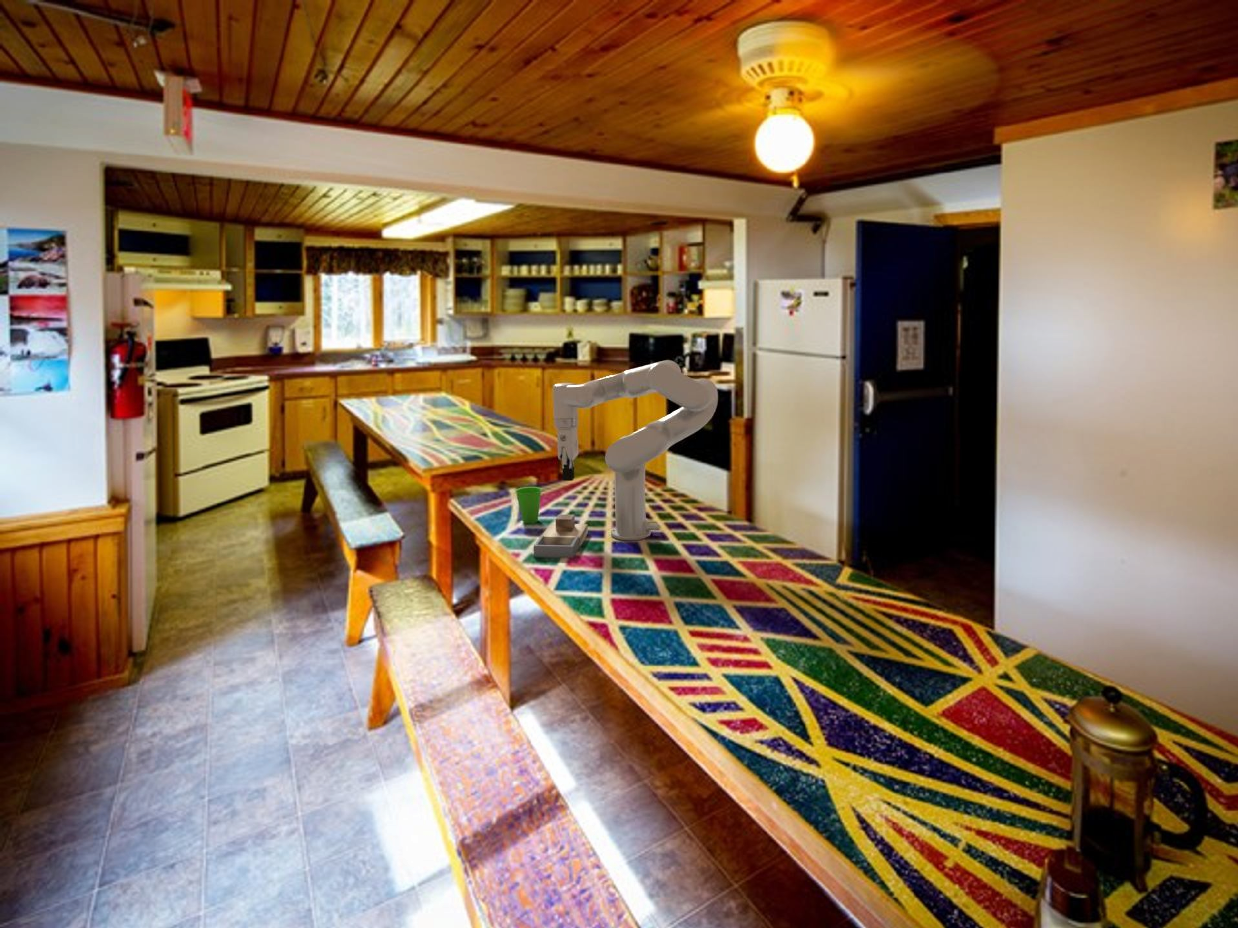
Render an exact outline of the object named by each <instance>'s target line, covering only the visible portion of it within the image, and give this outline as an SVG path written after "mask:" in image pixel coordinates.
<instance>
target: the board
mask: <svg viewBox="0 0 1238 928" xmlns="http://www.w3.org/2000/svg"><path fill="white" fill-rule="evenodd" d="M588 529H589V528H588V524H586V523H575V528H574V529H573V531H572V532H556V523H550V524H549V525H548V527H547V528H546V529H545V530H544V532H543V534H542V535H544V545H571V544H572V542H573V540H574V539H575V537H576V536H579V548H581V547H582V544H583V542H584V541H585V539H586V538H587V535H588V533H589V530H588Z"/></svg>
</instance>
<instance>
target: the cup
mask: <svg viewBox="0 0 1238 928" xmlns="http://www.w3.org/2000/svg"><path fill="white" fill-rule="evenodd" d="M542 491H543V489H542V488H541V487H538V486H525V487H524V486H523V487H519V488H517V489H515V490H514V492H515V494H516V498H517V502H518V507H519V512H520V516H521V520H522V522H523V523H524V524H534V523H537V522H538V520H539V512H540V504H541V495H542Z"/></svg>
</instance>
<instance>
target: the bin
mask: <svg viewBox="0 0 1238 928" xmlns="http://www.w3.org/2000/svg"><path fill="white" fill-rule="evenodd" d="M579 549H580V547H579V536H576V537H575V539H574V540H573V542H572V544H571V545H544V535H543V534H541V535H540V536H539V538H538V539H537V540H536V541H535V543H534V545H533V556H534V557H533V558H552V559H553V558H556V559H557V558H558V559H559V558H561V559H562V558H563V559H567V558H568V559H573V558H574V557H575V555H577V554H576V553H577V552H578V550H579Z"/></svg>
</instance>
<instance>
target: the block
mask: <svg viewBox="0 0 1238 928" xmlns="http://www.w3.org/2000/svg"><path fill="white" fill-rule="evenodd" d="M575 519H576V517H575V514H557V516H556V517H555V519H554V520H555V521H554V522H555V524H556V532H572V531H573V529H574V528H575V524H576V522H575V521H576V520H575Z"/></svg>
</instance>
